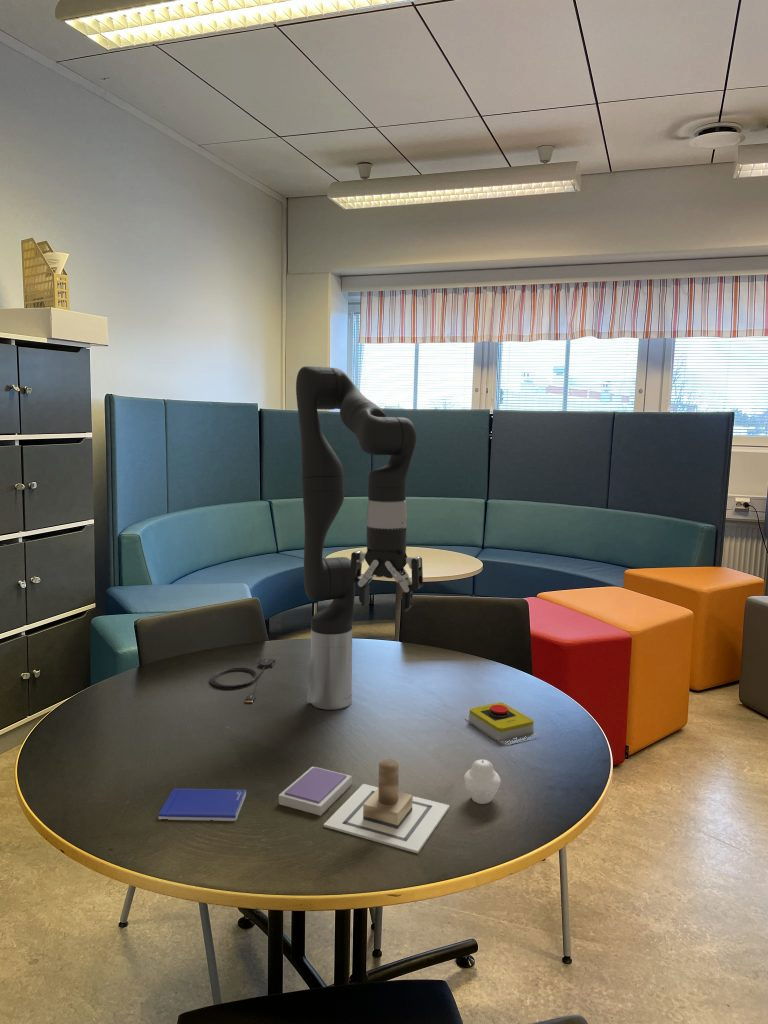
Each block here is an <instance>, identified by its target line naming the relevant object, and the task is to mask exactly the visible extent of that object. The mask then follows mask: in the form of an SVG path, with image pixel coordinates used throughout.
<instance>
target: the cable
mask: <svg viewBox="0 0 768 1024" xmlns="http://www.w3.org/2000/svg"><path fill="white" fill-rule="evenodd" d="M275 664H276V658H260V659H259V662H258V665H257V668H258V669H259V668H260V669H261V670H260V672H259V673H257V672H256V671H255V670H254V669H251V668H248V667H240V666H239V667H229V668H225V669H222V670H219V671H217V672H215V674H213V675H211V677H210V678H209V679H210V680H209V682H210V683H211V685H213V686H214V687H216V686H217V687H216V688H218V687H219V688H218V689H222V688H225V689H224V690H237V688H239V689H242V688H247V687H249V686H252V685H254V683H256V684H255V688H254V690H253V692H252V693H250V694H249V695H247V696H246V698H245V700H244V704H245V703H250V704H249V705H251V704H253V703H255V700H256V698H257V697H256V691H257V688H258V683H257V682H256V681H257V680H258V677H259V676H260V675H261V674H262V673H263V671H264V670H265V669H270V668H271V669H272V668H273V667H274V665H275ZM233 672H234V673H235V672H240V673H241V672H244V673H248V674H251V675H252V676H253V678H252V679H251V680H249V681H247V682H243V683H240V684H222V683H220V682H217V681H216V680H217V678H218V677H220V676H222V675H225V674H229V673H233Z"/></svg>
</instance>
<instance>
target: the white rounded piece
mask: <svg viewBox="0 0 768 1024" xmlns="http://www.w3.org/2000/svg"><path fill="white" fill-rule="evenodd" d="M463 781H464V783H465V788H466V790H467V791H468V794H469V796H470V797H471V800H472V801H473V802H475V803H477V804H481V805H486V804H489V803H491V802H492V800H493V799H494V797H495V795H496V794H497V792H498V790H499V787H500V786H501V777H500V775H499V774H498V773H497V771H495V769H494V766H493V764H492V763H491V761H489V760H487V759H477V760H475V761H474V762H472V764H471V768H470V769H468V770H467V771H466V772H465V774H464V776H463Z"/></svg>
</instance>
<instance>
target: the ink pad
mask: <svg viewBox="0 0 768 1024" xmlns="http://www.w3.org/2000/svg"><path fill="white" fill-rule="evenodd" d="M352 784H353V776H352V775H349V774H345V773H341V772H337V771H333V770H328V769H325V768H321V767H317V766H311V767H310V768H308V770H307V771H305V772H304V773H303V774H302V775H300V777H298V778H297V779H296V780H294V781H293V782H292V783H291V784H290V785H288V787H287V788H285V789H284V790H283V791H281V793H279V794H278V804H279V805H280V806H284V807H287V808H288V807H289V808H290V809H291V808H292V809H295V810H300V811H302V812H305V813H311V814H314V815H317V816H322V815H323V814H324V813H325V812H326V811H327V810H328V809H329V808H330V807H331V806H332V805H333V804H334V803H335V802H336V801H337V800H338V799H339V798H341V796H342V795H343V794H344V793H345V792H347V790H348V789H349V788H350V787H351V786H352Z"/></svg>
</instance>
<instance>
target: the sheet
mask: <svg viewBox="0 0 768 1024" xmlns="http://www.w3.org/2000/svg"><path fill="white" fill-rule="evenodd" d="M378 788H379V786H378V787H377V786H373V785H370V784H367V783H362V784H361V785H360V786H359V788H358V789H357V790H356V791H354V792H353V794H352V795H351V796H349V798H348V799H347V800H346V801H345V802H344V803H343V804H342V805H341V806H340V807H339V808H338V809H337V810H336V811H335V812H334V813H333V814H332V815H331V816H330V818H328V819H327V820H326V822H324V823H323V828H327V829H330V830H335V831H337V832H342V833H345V834H347V835H352V836H355V837H358V838H362V839H366V840H368V841H369V840H370V841H372V842H376V843H380V844H383V845H386V846H390V847H392V848H397V849H400V850H403V851H407V852H410V853H411V852H412V853H415V854H419V853H420V851H421V850H422V848H423V847H424V846H425V844H426V843H427V841H428V840H429V838H430V837H431V835H433V832H434V831H435V829H436V828H437V827H438V825H439V824H440V822H441V821H442V819H444V818H443V817H444V816H445V815H446V813H447V812H448V811H449V809H450V807H451V806H450V805H449V804H446V803H442V802H438V801H434V800H430V799H426V798H422V797H418V796H413V801H412V811H411V812H410V814H409V815H408V816H407V818H406V819H405V820H404V821H403V823H402V824H401V825H400V827H399V828H398V829H396V828H393V827H389V826H385V825H382V824H378V823H374V822H371V821H367V820H363V804H364V803H365V802H366V801H367V800H368V799H369V798H370V796H371V795H372V794H373V793H374V792H375V791H376V790H377V789H378Z"/></svg>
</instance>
